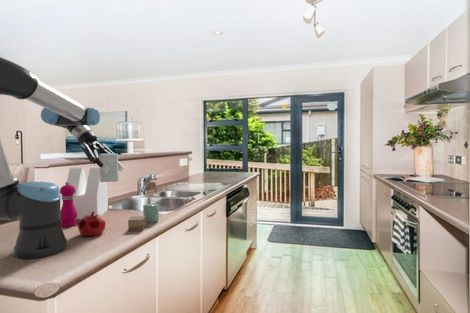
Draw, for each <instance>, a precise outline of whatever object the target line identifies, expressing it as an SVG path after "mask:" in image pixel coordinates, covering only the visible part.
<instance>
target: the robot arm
mask: <svg viewBox="0 0 470 313" xmlns="http://www.w3.org/2000/svg"><path fill="white" fill-rule="evenodd" d="M1 95H3V96H9V97H12V98H16V99H17V100H20V101H21V100H26V101H29V102H32V103H34V104H36V105H38V106H40V107H42V108H43V109H42V110H41V111H40V118H41V120H42V121H43V123H46V124H48V125H50V126H55V127H60V128H62V129H66V130H67V131H68V132H69V133H70V134H71V135H72V137H74V139H75V140H76V141H77V142H78V143H79V144H80V149H81V150H83V153H84V154H85V155H86V157H87V159H88V161H89V162H90V163H92V164H93V165H95V164H96V165H97V167H100V168H101V169H102V170H103V171H104V173H105V174H107V173H108V172H109V170H110V168H109V167H108V166H107V165H106V164H105V163H104V161H103V160H102V159H100V156H99V154H116V153H115V152H113V151H112V150H111V149H110V148H109V147H108V146H107V145H106V143H103V142H102V143H100V142H98V141H97V140H98V137H97V135H95V133H94V131H92V130H91V129H90V128H89V126H96V125H99V123H100V119H101V114H100V112H99V110H98V108H95V107H90V106H89V107H86V106H83V105H82V104H80V103H79V102H77V101H75V100H74V99H72V98H70V97H69V96H67V95H65V94H63V93H61V92H60V91H57V89H55V88H53V87H51V86H49V85H48V84H46V83H44V82H43V81H41V80H39V78H38V76H37V75H36V74H35V73H34V72H31V71H30V70H29V69H27V68H25V67H23V66H21V65H19V64H17V63H15V62H13V61H11V60H8V59H6V58H4V57H0V96H1ZM4 150H5V149H4V147H3V143H2V140H1V139H0V221H18V222H19V223H18V224H19V232H18V236H17V237H16V238H17V239H16V241H15V244H14V247H13V257H14V258H16V259H22V260H23V259H24V260H25V259H26V260H29V259H38V258H43V257H44V258H45V257H49V256H51V255H55V254H58V253H61V252H63V251H64V250H65V249H67V248H68V241H67V240H68V239H67V238H66V237H65V236H66V235H65V233H64V230H63V227H61V222H62V221H61V215H60V211H61V199H62V197H61V196H62V195H61V194H60V187H59V185H57V184H56V183H53V182H49V181H24V182H21V183H20V182H19V178H18V176H16V175H13V174H12V173H11V170H10V166H9V163H8V161H7V160H8V159H7V156H6V154H5V151H4ZM124 168H125V167H124V165H122V163H121V162H120V161H119V160H118V172H120V173H121V172H122V171H124Z"/></svg>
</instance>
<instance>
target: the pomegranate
mask: <svg viewBox="0 0 470 313" xmlns="http://www.w3.org/2000/svg"><path fill="white" fill-rule="evenodd" d="M98 215H100V214H98ZM98 215H95V216H94V212H92V214H91V215H90V216H87V217H86V218H85V216H84V218H83V219H79V222H78V224H77V227H78V231H79V233H80V235H81V236H83V237H96V236H100V235H101V234H102V233H103V232H105V229H106V224H107V223H106V221H105V220H104V219H103V218H101V216H99V217H97V216H98Z"/></svg>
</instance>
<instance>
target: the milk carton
mask: <svg viewBox="0 0 470 313" xmlns="http://www.w3.org/2000/svg"><path fill="white" fill-rule="evenodd" d="M66 182H69V183H70V184H69V185H72V186H74V188H75V193H74V194H73V195H74V199H73V204H74V207H75V209H76V211H77V217H76V219H75V220H81V219H83V218H84V216H85V218H86V217H87V216H90V215H91V214H92V212H94V216H95V215H98V214H100V215H98V216H97V217H99V216H100V217H101V216H102V215H103V214H104V213H106V212H107V211H108V210H109V208H108V206H109V203H108V202H109V200H108V198H109V197H108V196H109V193H108V186H107V182H101V181H100V167H99V166H97V167H96V166H92V167H89V171H88V175H87V176H86V173H85V170H84V167H83V166H82V167H78V166H77V167H69V170H68V175H67V180H66ZM100 217H99V218H100Z"/></svg>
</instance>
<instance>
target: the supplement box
mask: <svg viewBox="0 0 470 313" xmlns="http://www.w3.org/2000/svg"><path fill="white" fill-rule="evenodd" d="M99 159H102V160H103V161H104V163H105V164H106V165H107V166H108V167H109V168H110V170H109V172H108V173H107V174H105V173H104V171H103V170H102V169H101V168H100V181H101V182H106V183H113V182H114V183H115V182H116V183H117V182H118V181H119V180H120V179H119V176H120V175H119V170H118V161H119V153H115V154H101V153H99Z"/></svg>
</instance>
